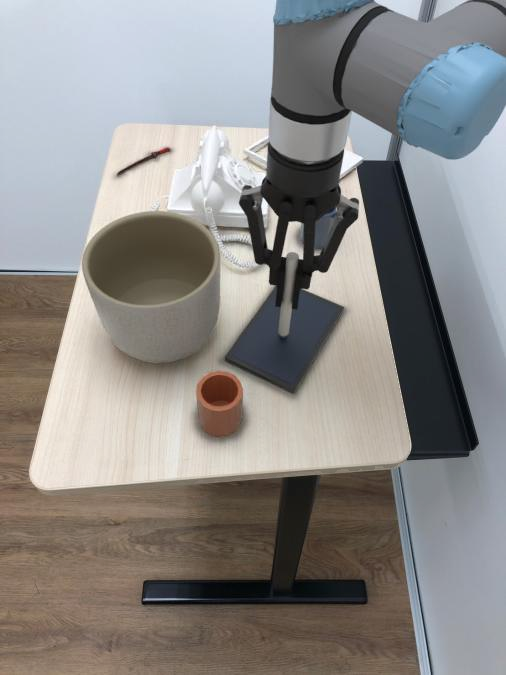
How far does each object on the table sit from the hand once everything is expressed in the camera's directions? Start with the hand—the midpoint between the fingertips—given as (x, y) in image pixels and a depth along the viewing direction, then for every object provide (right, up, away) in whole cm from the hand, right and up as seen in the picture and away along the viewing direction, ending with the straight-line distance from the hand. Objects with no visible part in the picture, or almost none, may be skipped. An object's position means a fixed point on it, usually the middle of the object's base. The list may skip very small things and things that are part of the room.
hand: (287, 300), depth 71 cm
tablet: (0, -5, +8) cm, 9 cm away
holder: (+6, +12, +20) cm, 25 cm away
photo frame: (+12, +25, +29) cm, 40 cm away
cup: (-9, -16, 0) cm, 18 cm away
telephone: (-12, +16, +22) cm, 30 cm away
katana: (-28, +29, +32) cm, 51 cm away
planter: (-18, -4, +8) cm, 20 cm away
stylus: (0, -5, +6) cm, 8 cm away
